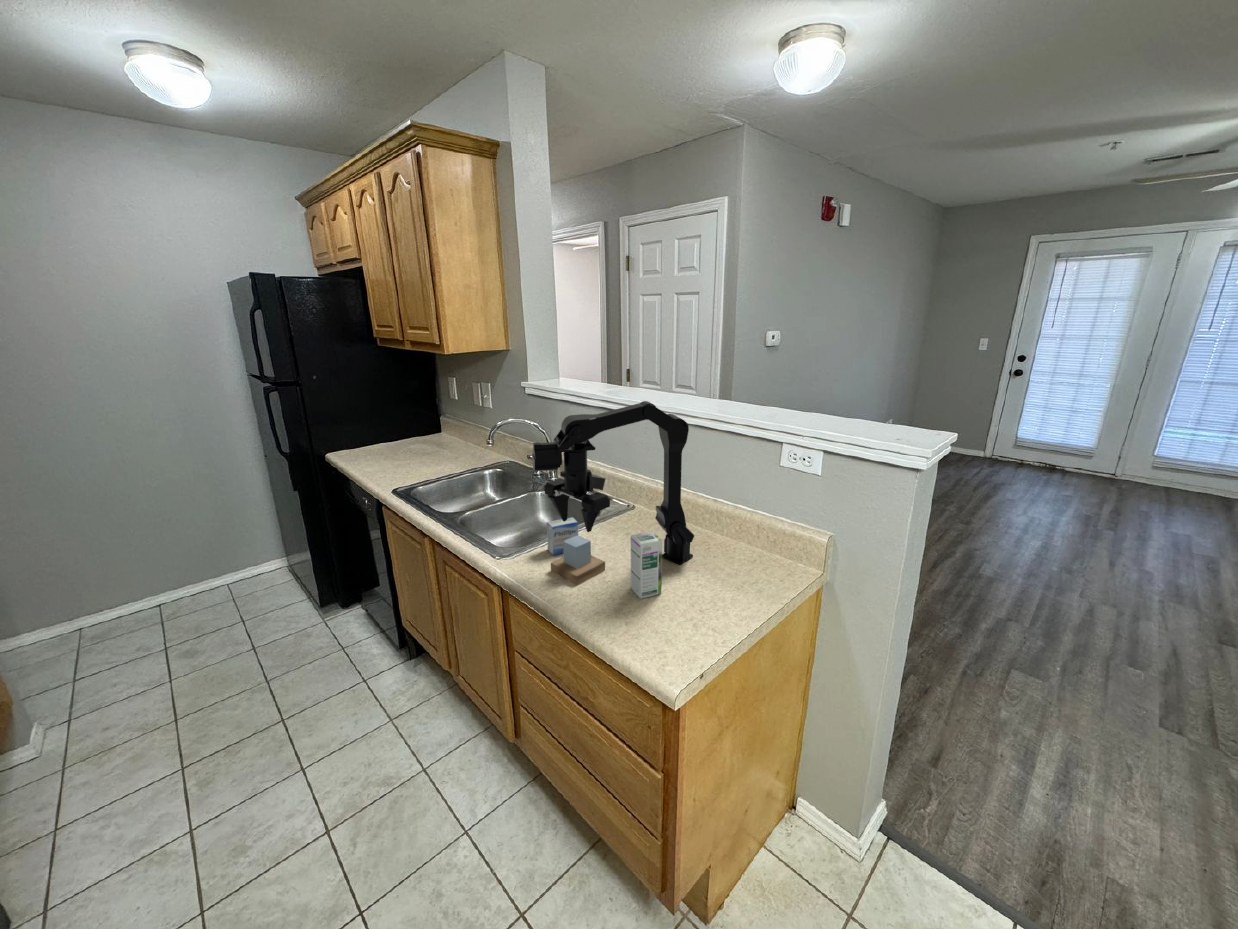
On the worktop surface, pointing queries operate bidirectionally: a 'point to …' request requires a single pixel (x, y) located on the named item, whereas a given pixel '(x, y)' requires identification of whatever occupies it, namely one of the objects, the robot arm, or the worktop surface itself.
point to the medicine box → (560, 533)
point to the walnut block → (578, 570)
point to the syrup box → (646, 564)
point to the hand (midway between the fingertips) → (576, 526)
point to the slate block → (577, 551)
